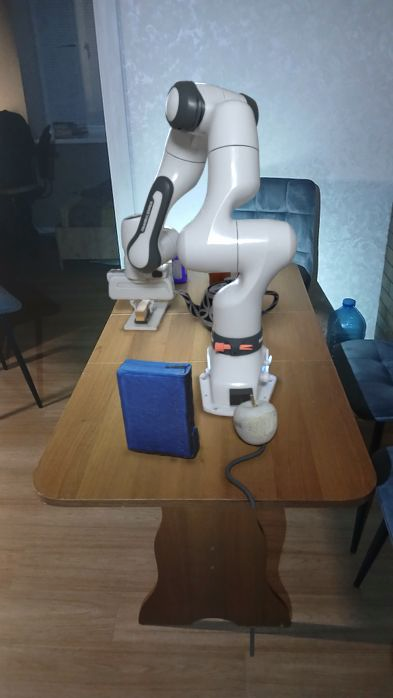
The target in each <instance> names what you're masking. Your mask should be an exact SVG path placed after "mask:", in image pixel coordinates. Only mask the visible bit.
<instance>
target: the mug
mask: <svg viewBox="0 0 393 698" xmlns="http://www.w3.org/2000/svg"><path fill="white" fill-rule="evenodd" d="M236 273H237V274H236V277H235V279H236V278H237V277H238V276H239V274H240V273H239V272H236ZM207 274H208V284H209V285H208V286H210V285H211V284H214V283H217V282H222V281H224V279H225V278H228V277H232V276H231V275H232V272H222V273H207Z"/></svg>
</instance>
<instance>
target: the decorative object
mask: <svg viewBox="0 0 393 698" xmlns="http://www.w3.org/2000/svg"><path fill="white" fill-rule="evenodd" d="M250 398H251V401H247V402H244V403H242V404H240V405H239V406H237V407H236V408H235V410H234V415H233V416H232V420H233V425H234V429H235V431H236V433H237V435H238V436H239V437H240V439H241V440H242V441H244V442H245V443H246V444H249V445H251V446H252V445H253V446H261V444H264V443H265V444H266V443H268V442H270V441H271V440H272V439H273V437H274V436H275V433H276V432H277V428H278V423H279V422H278V411H277V409H276V407H275V406H274V405H273V404H272V403H271V402H270V401H269V402H267V401H264V400H254V396H253V395H250Z"/></svg>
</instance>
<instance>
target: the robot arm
mask: <svg viewBox="0 0 393 698" xmlns="http://www.w3.org/2000/svg"><path fill="white" fill-rule="evenodd" d="M259 111H260V110H259V106H258V104H257V102H256V99H254V98H253V97H251V96H250V95H247V94H245V93H243V92H236V91H234V90H231V89H228V88H224V87H221V86H219V85H216V84H211V83H205V82H204V83H203V82H194V81H193V80H179V81H176V82H174V84H172V85H171V87H170V88H169V90H168V92H167V94H166V99H165V105H164V113H165V115H164V116H165V119H166V122H167V124H168V125H169V127H170V128H169V130H168V134H167V137H166V140H165V144H164V148H163V153H162V157H161V161H160V164H159V167H158V170H157V172H156V174H155V178H154V180H153V182H152V184H151V187H150V189H149V192H148V195H147V197H146V201H145V203H144V206H143V210H142V212H140V213H135V214H131V215H128V216H126V217H124V218H123V219H122V220H121V224H120V237H121V239H120V240H121V248H122V250H123V253H124V254H123V264H124V266H123V267H124V268H118V269H115V268H112V269H110V270H108V271H107V273H106V280H107V282H108V296H109V298H110V299H111V300H129V303H130V305H131V306H132V308H133V309H134V310H135V311H136V309H137V308H138V306H139V305H138V303H137V302H136V300H137V301H138V300H141V301H142V300H150V303H151V302H152V303H151V305H148V307H147V312H150V313H152V312H153V304H154V302H156V301H157V300H158V301H159V300H161V301H165V300H166V301H170V300H173V299H174V298H175V296H176V292H174V291H176V287H175V282H174V280H173V277H172V274H171V273H170V271H171V267H170V265H169V264H167V263H169V262H170V261H172V259H174V258H175V257H177V256H178V259H179V261H180V262H181V264H182V265H183V266H184V267H185V268H186V269H187V271H191V272H197V273H204V274H208V273H222V272H231V273H237V272H239V273H240V274H239V276H238V277H237V276H236V277H237V278H236V277H235V279H236V280H234V281H233V282H232V283H230V284H228V285H226V286H224V287H222V288H221V289H220V290H219V291H218V292H217V293H216V294H215V296H214V298H213V302H212V303H213V327H212V330H211V333H210V339H211V343H210V345H209V346H208V347H206V365H207V366H206V367H205V369H204V372H203V373H201V374H199V376H198V382H199V389H200V396H201V397H200V398H201V405H202V410H203V411H204V412H206V413H208V414H212V415H216V416H221V417H233V415H234V410H235V408H236V407H237V406H239V405H240V404H242V403H244V402H247V401H251V398H250V395H253V396H254V400H264V401H267V402H269V403H270V401H271V398H272V395H273V393H274V391H275V387H276V385H277V376H275V375H273V374H271V373H270V371H269V370H270V368H269V367H270V364H271V362H272V355H270V351H269V349H268V348H267V347H266V345H264V343H263V342H264V329H263V326H262V318H261V313H262V310H263V303H264V298H265V295H264V294H265V292H266V290H267V289H268V287H269V285H270V284H271V282H272V281H273V280H274V278H275V277H276V276H277V275H278V274H279V273H280V272H281V271H283V270H284V269H286V268H287V267H288V266H289V265H290V264H291V263H292V262H293V261H294V259H295V258H296V257H295V256H296V254H297V250H298V237H297V233H296V232H295V230H294V228H293V226H292V225H291V224H290V223H289V222H288V221H282V220H278V219H271V218H250V219H234V218H233V217H232V214H233V213H234V211H235V210H236V209H238V208H239V207H241V206H243V205H246V204H247V203H248V202H250V201H251V200H253V199H254V198H255V197H256V196H257V195H258V193H259V191H260V188H261V165H260V142H259V134H258V128H257V127H258V124H259V119H260V112H259ZM206 164H207V184H206V185H207V186H206V194H205V197H204V201H203V204H202V206H201V207H200V209H199V211H198V212H197V214H196V215H195V216H194V217H193V219H191V220H190V221H189V222H188V223H187V224H186V225H184V227H182V228H181V230H180V232H178V230H176V228H173V227H171V226H168V225H167V226H166V221H167V218H168V215H169V213H170V211H171V209H172V208H173V206H175V204H176V203H177V202H178V201H179V200H181V198H182V197H184V196H185V195H186V194H187V193H189V192H190V191H192V190H193V189H194V188H195V187H196V186H197V185H198V184H199V182H200V180H201V177H202V175H203V173H204V170H205V168H206ZM134 310H133V311H134ZM269 355H270V356H269ZM266 446H267V445H266V443H264V444H261V445H260V448H259V449H258V450H256V451H254V452H252V453H251V452H250V453H249V454H245V455H243V456H240V457H236V458H234V459H233V460H231V461H230V462H228V464H227V465H226V466H225V469H224V474H225V477H226V479H227V480H228V481H229V482H230V483H231V484H233V485H235V486H236V487H237V488H239V489H240V490H242V491H243V493H244V494H245V495H246V497H247V498H248V499H247V500H249V504H250V508H251V509H256V508H257V504H256V500H255V498H254V496H253V493H252V492H251V491H250V489H249V488H248V487H246V486H245V485H244V484H243V483H241V482H240V481H239V480H238V479H236V478H234V477H233V476H232V475H231V472H230V471H231V469H232V468H233V467H234V466H235V465H237V464H239V463H241V462H245V461H249V460H250V459H253V458H256V457H258V456H261V454H262V453H263V452H264V451H265V450H266ZM249 656H250V657H251V658H253V657H255V627H252V626H250V627H249Z"/></svg>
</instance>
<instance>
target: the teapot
mask: <svg viewBox="0 0 393 698" xmlns="http://www.w3.org/2000/svg"><path fill="white" fill-rule="evenodd" d="M234 280H236V277H232V276H230V277H228V278H225V279H224V281H222V282H217V283H214V284H211V285H210V286H209V285H208V286H207V287H206V288H205V291H204V293H203V295H202V298H201V301H200V303H199V304H196V303H194V302H193V300H192V298H191V295H190V294H189V293H188V291H186V290H175V291H174V292H175V294H178V295H179V296H181V297H182V298H183V300H184V303H185V305H186V308H187V310H188V312H189V313H190V314H191V315H192V317H195V318H196V319H199V320H200V322H201V323H202V324H203V326H204V327H206V328H208V330H210V331H212V327H213V303H212V302H213V298H214V296H215V294H216V293H217V292H218V291H219V290H220V289H221V288H222V287H224V286H226V285H228V284H230V283H232V282H233V281H234ZM264 296H273V299H272V302H271V303H270V304H269V306H267V307H266V308H264V309H262V313H261V319H262V318H263V316H264V315H267V314H268V313H270V312H271V311H273V309H275V308H276V306H277V305H278V303H279V299H280V294H279V292H277V291H275V290H270V289H269V290H267V289H266V292H265V294H264Z"/></svg>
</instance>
